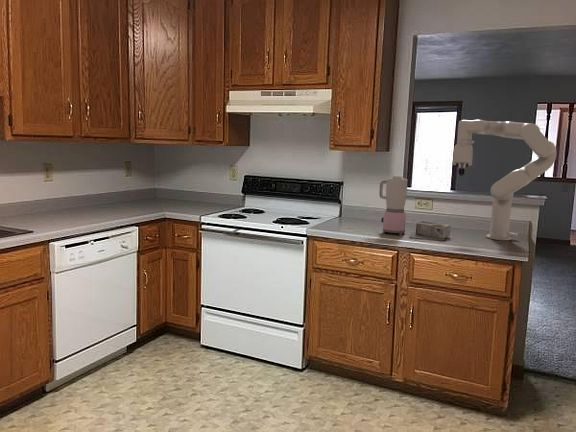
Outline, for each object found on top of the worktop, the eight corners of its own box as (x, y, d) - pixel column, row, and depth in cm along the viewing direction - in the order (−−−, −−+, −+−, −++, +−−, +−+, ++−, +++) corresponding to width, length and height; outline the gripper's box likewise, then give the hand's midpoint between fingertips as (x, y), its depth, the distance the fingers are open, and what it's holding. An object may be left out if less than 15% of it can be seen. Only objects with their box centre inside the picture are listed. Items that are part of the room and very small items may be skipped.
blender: (407, 232, 278) (411, 176, 273) (402, 236, 267) (406, 177, 262) (380, 229, 285) (383, 174, 280) (374, 232, 274) (377, 175, 269)
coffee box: (450, 236, 268) (422, 232, 278) (451, 224, 267) (423, 220, 277) (443, 238, 261) (415, 234, 271) (444, 226, 260) (416, 222, 270)
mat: (444, 236, 271) (445, 235, 271) (444, 241, 257) (444, 240, 257) (411, 233, 277) (411, 232, 276) (409, 237, 262) (409, 237, 262)
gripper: (478, 143, 275) (475, 175, 278) (450, 142, 280) (447, 174, 282) (478, 143, 268) (475, 176, 271) (449, 142, 273) (447, 175, 275)
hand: (461, 175), depth 277 cm, fingers closed
